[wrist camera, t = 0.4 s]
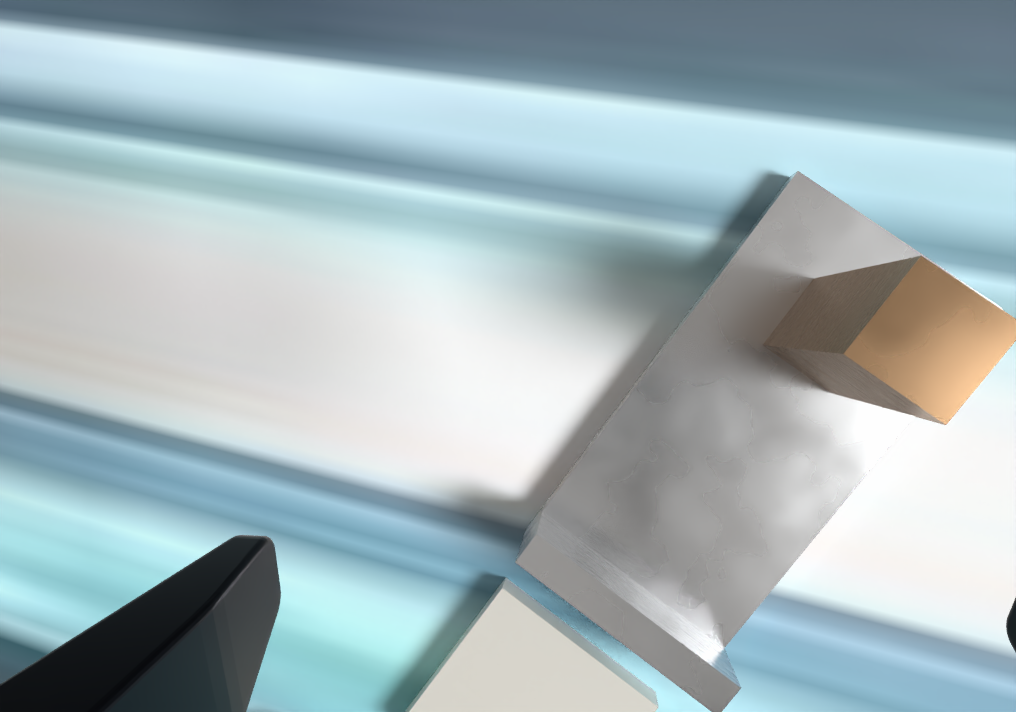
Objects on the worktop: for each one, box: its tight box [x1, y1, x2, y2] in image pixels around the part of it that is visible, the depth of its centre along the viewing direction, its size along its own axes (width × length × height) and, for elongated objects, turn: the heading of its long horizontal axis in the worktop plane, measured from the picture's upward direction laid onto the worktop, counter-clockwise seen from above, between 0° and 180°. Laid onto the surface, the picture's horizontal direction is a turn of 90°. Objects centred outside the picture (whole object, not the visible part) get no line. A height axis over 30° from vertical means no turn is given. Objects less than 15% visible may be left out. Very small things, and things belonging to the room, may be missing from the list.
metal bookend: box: [515, 171, 1016, 712], centre depth 19 cm, size 16×8×8 cm, turn 144°
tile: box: [405, 578, 658, 712], centre depth 24 cm, size 7×7×2 cm
